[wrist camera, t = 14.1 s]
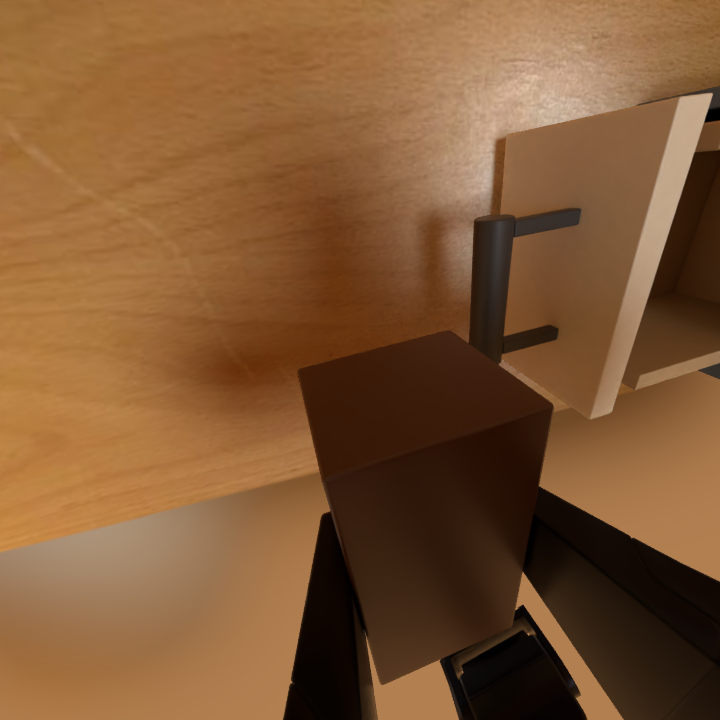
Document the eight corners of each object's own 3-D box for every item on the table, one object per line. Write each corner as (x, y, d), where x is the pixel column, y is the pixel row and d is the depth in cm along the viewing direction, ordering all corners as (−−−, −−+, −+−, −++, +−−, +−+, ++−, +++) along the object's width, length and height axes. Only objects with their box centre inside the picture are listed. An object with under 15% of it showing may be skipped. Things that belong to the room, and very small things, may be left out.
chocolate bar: (449, 328, 8) (557, 404, 5) (450, 521, 12) (513, 627, 9) (295, 368, 8) (321, 480, 5) (348, 559, 12) (380, 687, 9)
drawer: (426, 367, 20) (504, 448, 14) (420, 146, 14) (546, 112, 8) (657, 305, 23) (806, 348, 17) (725, 105, 18) (985, 58, 11)
